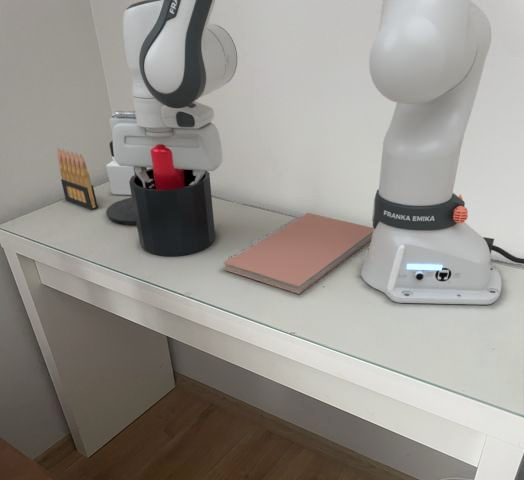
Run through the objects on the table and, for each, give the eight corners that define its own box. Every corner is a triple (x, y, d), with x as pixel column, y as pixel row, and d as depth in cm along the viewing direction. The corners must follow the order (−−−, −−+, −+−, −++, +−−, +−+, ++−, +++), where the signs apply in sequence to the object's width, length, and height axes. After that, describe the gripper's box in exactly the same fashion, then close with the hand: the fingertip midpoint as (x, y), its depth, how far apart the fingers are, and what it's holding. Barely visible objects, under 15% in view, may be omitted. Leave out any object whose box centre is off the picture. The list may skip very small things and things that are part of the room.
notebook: (303, 219, 111) (303, 210, 110) (375, 237, 103) (376, 227, 102) (219, 269, 94) (218, 259, 93) (298, 295, 85) (299, 284, 84)
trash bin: (225, 229, 108) (220, 167, 101) (198, 260, 97) (190, 193, 90) (161, 223, 112) (152, 163, 105) (127, 252, 101) (114, 187, 94)
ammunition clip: (98, 207, 121) (86, 153, 114) (91, 210, 120) (79, 156, 113) (72, 198, 127) (59, 146, 120) (65, 200, 126) (52, 148, 119)
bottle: (173, 231, 107) (158, 126, 96) (196, 234, 105) (184, 129, 94) (158, 241, 103) (141, 134, 92) (182, 245, 101) (167, 136, 90)
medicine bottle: (139, 195, 127) (130, 143, 120) (111, 194, 128) (101, 143, 121) (150, 186, 132) (142, 135, 125) (123, 185, 134) (114, 135, 127)
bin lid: (189, 203, 122) (186, 180, 119) (159, 229, 110) (155, 205, 106) (128, 198, 126) (124, 176, 123) (93, 223, 113) (88, 199, 110)
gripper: (98, 114, 91) (114, 193, 99) (208, 117, 86) (216, 200, 94) (116, 106, 96) (130, 182, 104) (222, 109, 91) (228, 189, 99)
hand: (172, 191), depth 99 cm, fingers open, 8 cm apart
